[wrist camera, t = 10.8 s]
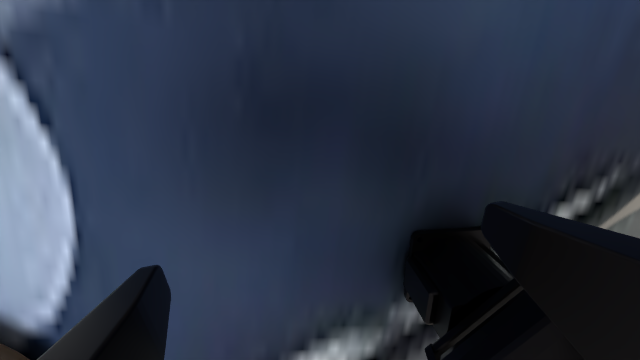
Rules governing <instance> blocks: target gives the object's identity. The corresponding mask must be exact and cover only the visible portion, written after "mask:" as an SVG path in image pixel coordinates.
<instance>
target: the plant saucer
mask: <svg viewBox="0 0 640 360" xmlns="http://www.w3.org/2000/svg"><path fill="white" fill-rule="evenodd" d="M0 360H30V359H29V358H27V357H25V356H24V355H22V354H21V353H19V352H17V351H15V350H13V349H11V348H9V347H7V346H5V345H3V344H1V343H0Z"/></svg>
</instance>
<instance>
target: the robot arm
mask: <svg viewBox="0 0 640 360" xmlns="http://www.w3.org/2000/svg"><path fill="white" fill-rule="evenodd" d="M418 237H420V239H418V240H417V238H418ZM490 246H492V248H493V249H494V250H495V252H496V253H497V255H498V256H499V257H500V258H499V257H498V256H497V255H496V254H495V253H493V252H492V251H491V250H490ZM404 287H405V293H404V296H405V298H406V300H407V301H408V302H413V303H414V304H415V306H416V308H417V310H418V312H419V313H420V315H421V317H422V319H423V321H424V322H425V323H426V324H427V325H433V327H434V328H435V330H436V332H437V333H438V335H439V337H440V339H438V340H437V341H436V342H435V343H434V344H430V345H428V346H427V347H426V348H425V352H426V356H427V359H428V360H640V239H639V238H636V237H632V236H628V235H625V234H621V233H617V232H614V231H610V230H606V229H603V228H599V227H595V226H592V225H588V224H584V223H581V222H577V221H573V220H570V219H566V218H562V217H559V216H555V215H551V214H547V213H544V212H540V211H536V210H533V209H529V208H525V207H522V206H518V205H514V204H511V203H507V202H503V201H499V202H494V203H490V204H488V205H487V206H486V208H485V212H484V216H483V220H482V225H481V227H478V228H462V229H446V230H430V231H417V232H415V233H413V235H412V237H411V244H410V252H409V257H408V258H407V260H406V267H405V276H404ZM170 302H171V292H170V288H169V285H168V283H167V280H166V278H165V275H164V272H163V270H162V268H161V267H160V266H159V265H152V266H147V267H142V268H140V269H138V270H137V271H136V272H135V273H134V274H133V275H131V276H130V277H129V278H128V279H127V280H126V281H125V282H124V283H122V284H121V285H120V286H119V287H118V288H117V289H116V290H115V291H113V292H112V293H111V294H110V295H109V296H108V297H107V298H106V299H104V300H103V301H102V302H101V303H100V304H99V305H98V306H97V307H96V308H94V309H93V310H92V311H91V312H90V313H89V314H88V315H87V316H85V317H84V318H83V319H82V320H81V321H80V322H79V323H78V324H76V325H75V326H74V327H73V328H72V329H71V330H70V331H69V332H67V333H66V334H65V335H64V336H63V337H62V338H61V339H60V340H58V341H57V342H56V343H55V344H54V345H53V346H52V347H51V348H49V349H48V350H47V351H46V352H45V353H44V354H43V355H42V356H40V357H39V358H38V359H37V360H164V355H165V347H166V338H167V329H168V320H169V311H170Z"/></svg>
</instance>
